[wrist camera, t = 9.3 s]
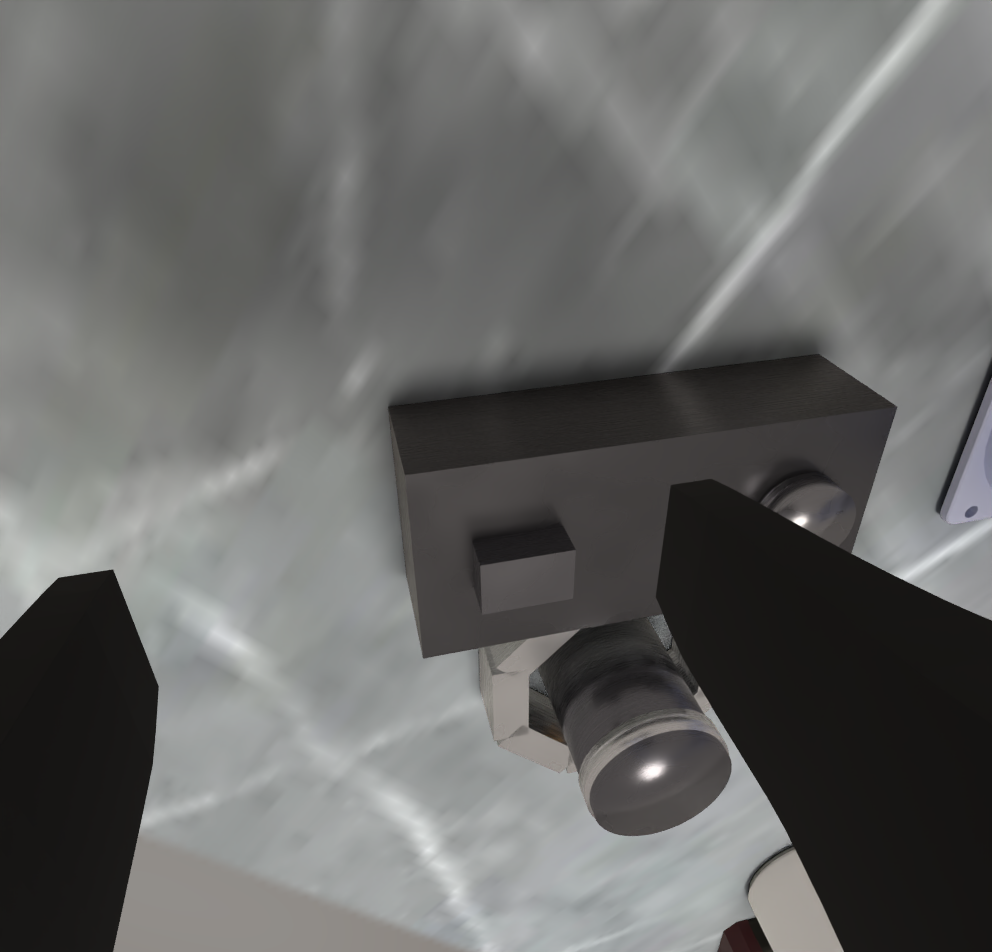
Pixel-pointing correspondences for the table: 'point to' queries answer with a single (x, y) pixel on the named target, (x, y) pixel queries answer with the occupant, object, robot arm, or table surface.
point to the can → (790, 907)
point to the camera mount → (605, 505)
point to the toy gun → (744, 938)
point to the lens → (634, 729)
